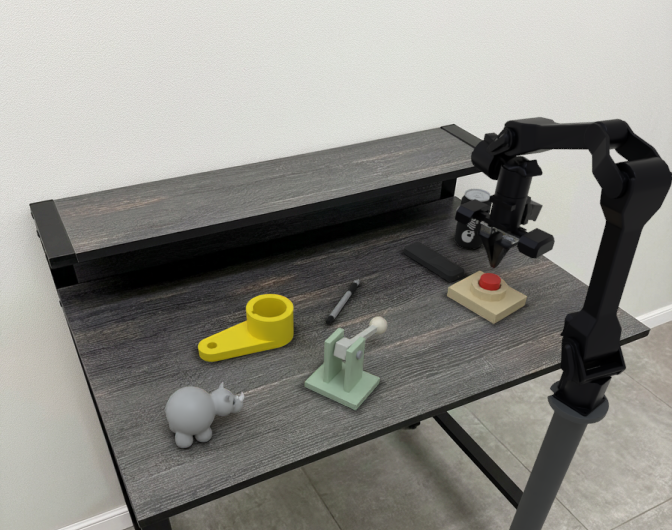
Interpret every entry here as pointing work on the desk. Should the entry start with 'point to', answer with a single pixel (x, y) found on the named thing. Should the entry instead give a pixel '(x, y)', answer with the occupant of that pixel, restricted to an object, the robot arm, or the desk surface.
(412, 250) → the remote control
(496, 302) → the button box
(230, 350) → the crank
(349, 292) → the pen
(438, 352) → the desk surface
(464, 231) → the beverage can
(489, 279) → the button
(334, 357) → the bracket
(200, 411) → the round bodied animal figurine
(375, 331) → the lever
